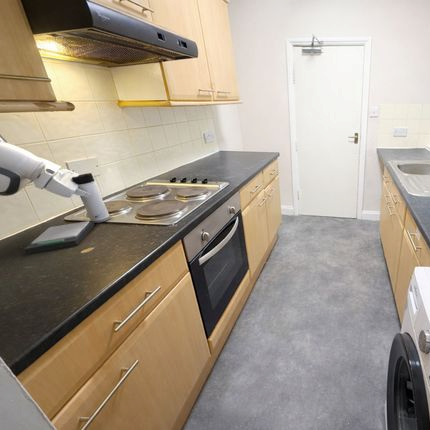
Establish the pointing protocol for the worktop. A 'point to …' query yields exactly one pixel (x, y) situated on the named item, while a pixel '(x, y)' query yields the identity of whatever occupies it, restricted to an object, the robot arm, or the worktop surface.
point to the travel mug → (92, 198)
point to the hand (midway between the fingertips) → (92, 193)
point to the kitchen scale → (60, 237)
